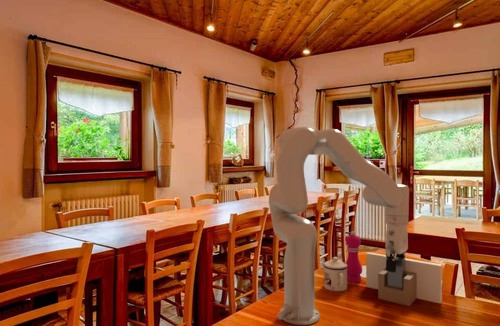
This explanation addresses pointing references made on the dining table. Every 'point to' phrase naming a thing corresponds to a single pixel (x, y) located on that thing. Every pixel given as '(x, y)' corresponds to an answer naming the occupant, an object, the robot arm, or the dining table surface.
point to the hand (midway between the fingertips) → (395, 268)
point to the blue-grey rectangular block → (397, 274)
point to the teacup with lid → (335, 275)
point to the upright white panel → (405, 280)
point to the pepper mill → (353, 258)
